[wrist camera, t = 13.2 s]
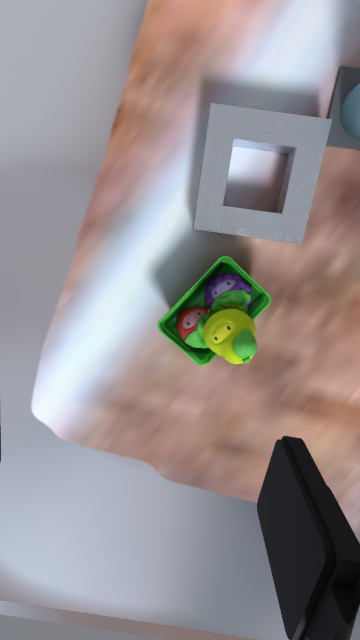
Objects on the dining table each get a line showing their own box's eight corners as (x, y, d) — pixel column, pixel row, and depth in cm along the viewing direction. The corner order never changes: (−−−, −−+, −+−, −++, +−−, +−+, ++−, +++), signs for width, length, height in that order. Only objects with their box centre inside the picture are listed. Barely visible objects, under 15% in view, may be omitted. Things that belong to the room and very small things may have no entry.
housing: (320, 128, 33) (332, 119, 30) (293, 242, 37) (301, 244, 34) (209, 113, 33) (210, 102, 30) (193, 228, 37) (193, 229, 34)
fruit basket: (220, 248, 37) (231, 257, 27) (271, 297, 39) (300, 324, 28) (158, 314, 40) (145, 347, 29) (208, 357, 42) (212, 404, 31)
